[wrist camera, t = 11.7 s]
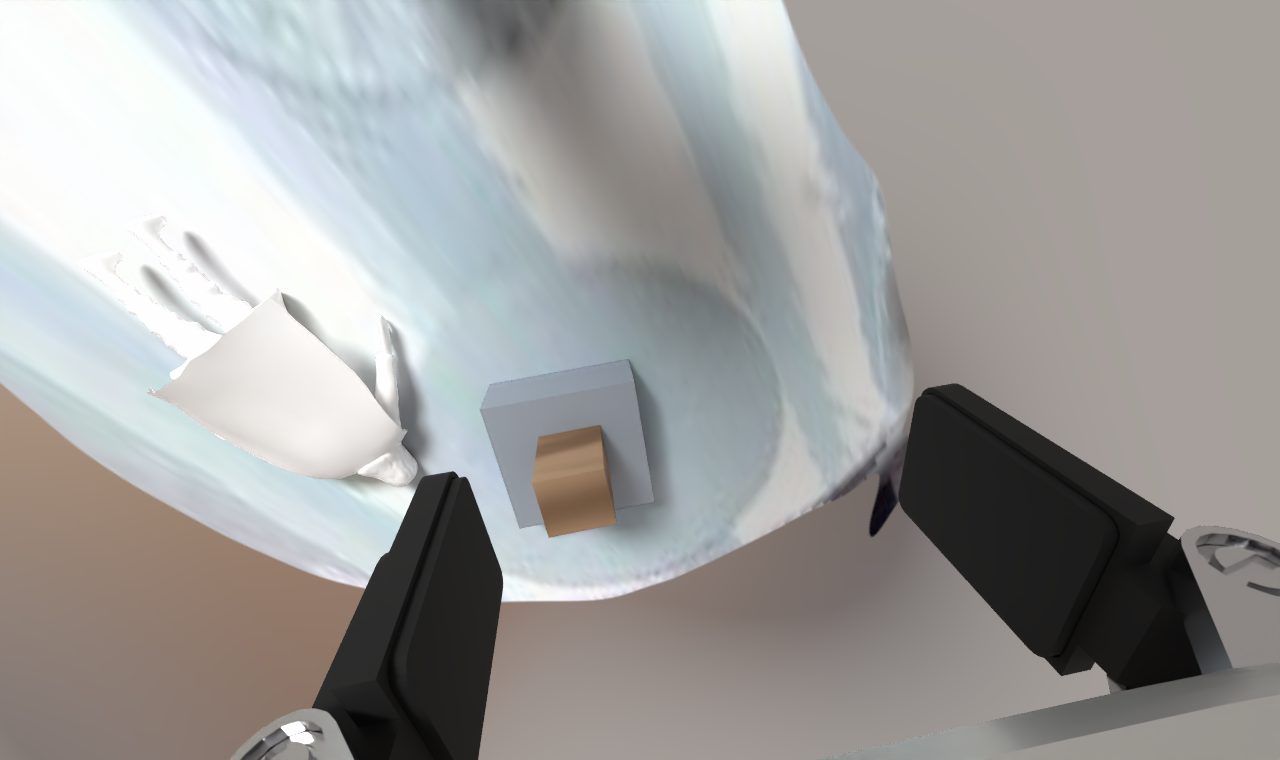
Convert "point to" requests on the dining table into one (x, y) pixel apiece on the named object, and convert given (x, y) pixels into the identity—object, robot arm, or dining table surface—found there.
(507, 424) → the plinth
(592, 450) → the walnut block
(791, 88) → the dining table surface
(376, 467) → the figurine
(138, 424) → the dining table surface
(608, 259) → the dining table surface
